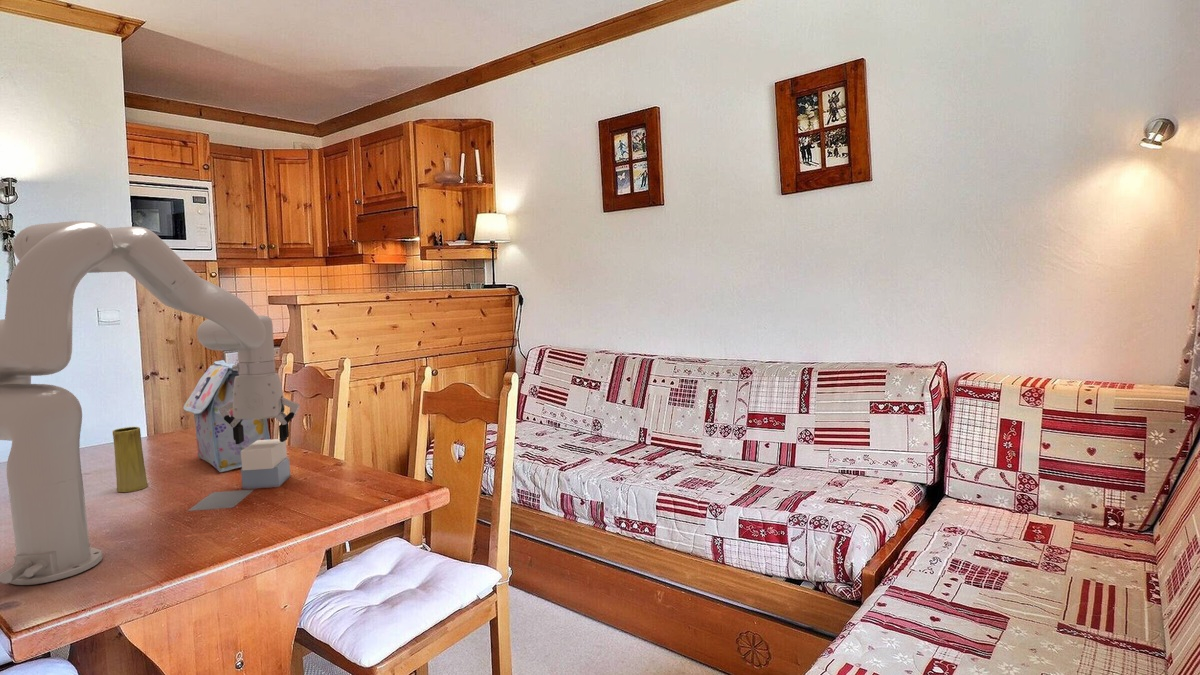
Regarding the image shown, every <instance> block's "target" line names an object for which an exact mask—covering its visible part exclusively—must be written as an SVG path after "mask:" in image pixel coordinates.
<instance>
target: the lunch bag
mask: <svg viewBox="0 0 1200 675" xmlns="http://www.w3.org/2000/svg"><path fill="white" fill-rule="evenodd" d="M233 365H235V364H234V363H231V362H230V363H227V362H226V361H225V360H224V359H221V360H217V361H214V362H213V365H212V364H211V365H210V366H209V367H208V368H207V370H206V371H205V373H204V374H203V375H202V376H201V377H200V379H199V380H198V382H197V384H196V386H195V387H194V389H193V390H192V392H191V394H190V396H189V397H188V399H187V400H186V402H185V403H184V404H183V407H182V408H183V410H184V411H186V412H189V413H192V414H193V418H194V424H195V435H196V436H195V438H196V447H197V457H198V458H199V459H202V460H204V461H205V462H207V463H208V464H210V465H211V466H212V467H214V469H216V470H217V471H218V472H219V473H223V472H228V471H231V470H234V469H239V468H240V469H241V468H242V460H241V451H242V450H243V449H245V448H246V447H248V446H249V445H251V444H252V443H254V442H255V441H257V440H270V439H271V436H270V435H271V434H270V432H269V426H268V425H269V424H268V423H269V422H268V418H265V419H244V420H243V421H242V422H241V425H242V426H243V431H244V441H243V442H242V443H240V444H236V442H235V440H234V438H233V427H231V426H230V424H229V423H228V422H226V421H225V420H224V417H223V416H222V415H221V413H220V412H219V409H220V408H222V407H223V406H225V405H227V404H229V403H231V402H233V388H234V380H235V376H239V374H238V371H233V370H232V366H233ZM229 413H230V415H232V416H233V408H231V409H230V410H229ZM233 417H234V416H233ZM234 418H235V417H234Z"/></svg>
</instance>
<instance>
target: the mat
mask: <svg viewBox="0 0 1200 675" xmlns="http://www.w3.org/2000/svg"><path fill="white" fill-rule="evenodd" d="M255 490H256V488H253V489H241V490H228V491H214V492H213V491H212V492H211V493H210V494H208V495H207V496H206V497H204V498H203V499H201V500H200V501H199V502H197V503H196V504H195V505H193V506H191V507H190V508H189V509H188V510H187V512H193V511H207V510H221V509H233V508H234V507H236V506H237V505H239V503H241V502H242V501H243V500H244V499H245V498H247V497H248V496H249V495H250V494H252V492H254V491H255Z"/></svg>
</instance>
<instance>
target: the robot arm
mask: <svg viewBox="0 0 1200 675" xmlns="http://www.w3.org/2000/svg"><path fill="white" fill-rule="evenodd" d="M12 248H13V253H14V255H15V257H16V258H17V259H18V262H17V264H16V265H15V267H14V269H13V271H12V272H11V275H10V277H9V281H8V284H7V292H6V301H5V313H4V318H3V319H0V441H11V447H10V451H9V454H8V456H7V457H8V459H7V461H6V462H7V463H6V480H7V489H8V494H9V496H8V497H9V503H10V510H11V511H10V512H11V520H12V527H13V535H14V544H15V545H14V546H15V550H16V551H15V553H16V555H14V556H13V559H14V560H13V562H14V563H13V565H12V567H9V568H8V569H6V570H4V571H1V572H0V583H1V584H4V585H5V584H11V585H15V586H31V585H39V584H45V583H46V584H47V583H51V582H55V581H58V580H62V579H66V578H69V577H72V576H75V575H78V574H81V573H83V572H85V571H89V569H91V568H93V567H95V566H96V565H98V564H99V563H100V562H101V561H102V560H103V557H104V556H103V552H102V550H101V549H99V548H97V547H92V546H90V544H91V543H90V536H89V526H88V517H87V509H86V508H87V506H86V499H85V491H84V489H85V488H84V480H83V472H82V462H81V449H80V445H81V444H80V443H81V441H80V440H81V432H82V423H83V409H82V405H81V403H80V401H79V399H78V398H77V396H76V395H74V393H72V392H71V391H70V390H68V389H66V388H64V387H61V386H58V385H54V384H45V383H32V377H33V376H34V377H35V376H36V377H37V376H38V377H40V376H41V377H42V376H49V375H53V374H56V373H59V372H62V371H63V370H64V369H65V368H67V367H68V365H69V363H70V361H71V359H72V354H73V311H74V310H73V306H74V297H75V293H76V289H77V287H78V286H79V284H80V281H81V280H83V278H84V277H85V276H86V275H87V274H88V273H89V274H92V273H93V274H94V273H95V274H97V273H118V272H119V273H120V272H121V273H124V272H126V273H127V274H129V275H130V276H131V277H132V278H133V279H134V280H136V281H137V282H138V283H139V284H140V285H141V286H142V287H144V288H145V289H146V290H147V291H149V293H150V294H152V295H153V296H154V298H156V299H157V300H158V301H159V302H160V303H161V304H163V305H164V306H167V307H169V308H171V309H174V310H177V311H179V312H183V313H187V314H190V315H195V316H198V317H201V318H203V319H205V320H204V321H202V322H201V323H200V324H199V325H198V328H197V330H196V337H197V340H198V342H199V343H200V345H201V346H203V347H204V348H206V349H208V350H210V351H211V350H212V351H216V352H217V351H222V352H223V351H224V352H225V351H226V352H227V351H229V352H230V351H237V360H238V362H237V364H234V365H233V366H232V370H233V371H238V374H239V376H235V380H234V388H233V402H231V403H229V404H227V405H225V406H223V407H222V408H220V409H219V412H220V413H221V415H222V416H223V417H224V420H225V421H226V422H228V423H229V424H230V426H231V427H233V438H234V440H235V442H236V444H240V443H242V442H243V441H244V431H243V426H242V425H241V422H242V421H243V420H244V419H265V418H267V419H272V418H273V419H274V418H275V419H276V420H277V421H278V422H279V423H280V424H279V425H278V435H279V436H278V437H279V438H278V439H280V441H281V442H284V441H285V440H286V441H287V440H288V438H289V436H290V430H289V423H290V422H291V421H292V419H293V418H294V417H295V416H296V415H297V413H298V411H299V408H300V404H299V403H297V402H295V401H293V400H290V399H288V398H286V397H284V391H283V385H282V382H281V378H280V375H279V373H277V372H276V362H275V345H274V328H273V320H272V318H271V317H269V316H268V315H258V314H257V313H256V312H255V311H254V310H253V309H252V308H251V307H250V306H249V305H248V304H247V303H246V302H245V301H243V300H242V299H240V297H238V296H236V295H235V294H233V293H231V292H229V291H227V290H226V289H224V288H222V287H220V286H218V285H217V284H214V283H212V282H210V281H209V280H207V279H204V278H203V277H201V276H199V275H198V273H197V272H195V271H194V270H193V269H192V268H191V267H190V266H189V265H188V264H187V263H186V262H185V261H184V260H183V259H182V258H181V257H180V256H179V255H178V254H177V253H176V252H175V251H174V250H173V249H172V248H171V247H170V246H169V245H167V243H166V242H164V240H162V238H160V237H159V236H158V235H157V234H156V233H155V232H154V231H152V230H151V229H148V228H145V227H143V226H124V227H123V226H121V227H108V228H107V227H105V226H103V225H102V224H99V223H97V222H93V221H85V220H73V221H72V220H71V221H59V222H50V223H49V222H48V223H39V224H33V225H30V226H27V227H25V228H23V229H21V230H20V231H19V232H18V233H17V235H15V237H14V239H13V245H12ZM286 407H288V408H290V410H289V413H288V414H286V413H285V408H286ZM231 408H233V416H234V417H235V418H234V417H233V416H232V415H230V413H229V410H230V409H231Z"/></svg>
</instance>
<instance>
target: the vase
mask: <svg viewBox="0 0 1200 675" xmlns="http://www.w3.org/2000/svg"><path fill="white" fill-rule="evenodd" d="M141 433H142V432H141V428H140V427H139V426H126V427H121V428H116V429H113V430H112V438H113V445H114V446H113V447H114V461H115V462H114V463H115V475H116V476H115V477H116V490H115V491H116V492H117V493H121V494H122V493H131V492H136V491H141V490H143V489H146V488H147V487H148V486H149V483H148V479H147V471H146V465H145V461H144V453H143V443H142V434H141Z"/></svg>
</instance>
